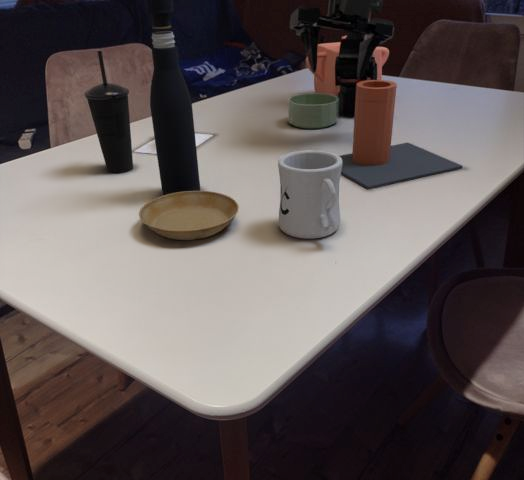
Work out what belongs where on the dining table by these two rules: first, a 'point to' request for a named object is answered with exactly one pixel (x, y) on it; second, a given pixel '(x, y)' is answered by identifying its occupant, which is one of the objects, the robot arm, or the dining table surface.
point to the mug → (309, 193)
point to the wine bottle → (171, 108)
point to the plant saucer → (189, 214)
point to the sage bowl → (313, 110)
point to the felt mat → (397, 167)
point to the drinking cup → (112, 122)
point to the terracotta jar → (373, 122)
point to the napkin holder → (151, 145)
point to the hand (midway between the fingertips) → (336, 75)
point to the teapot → (326, 66)
